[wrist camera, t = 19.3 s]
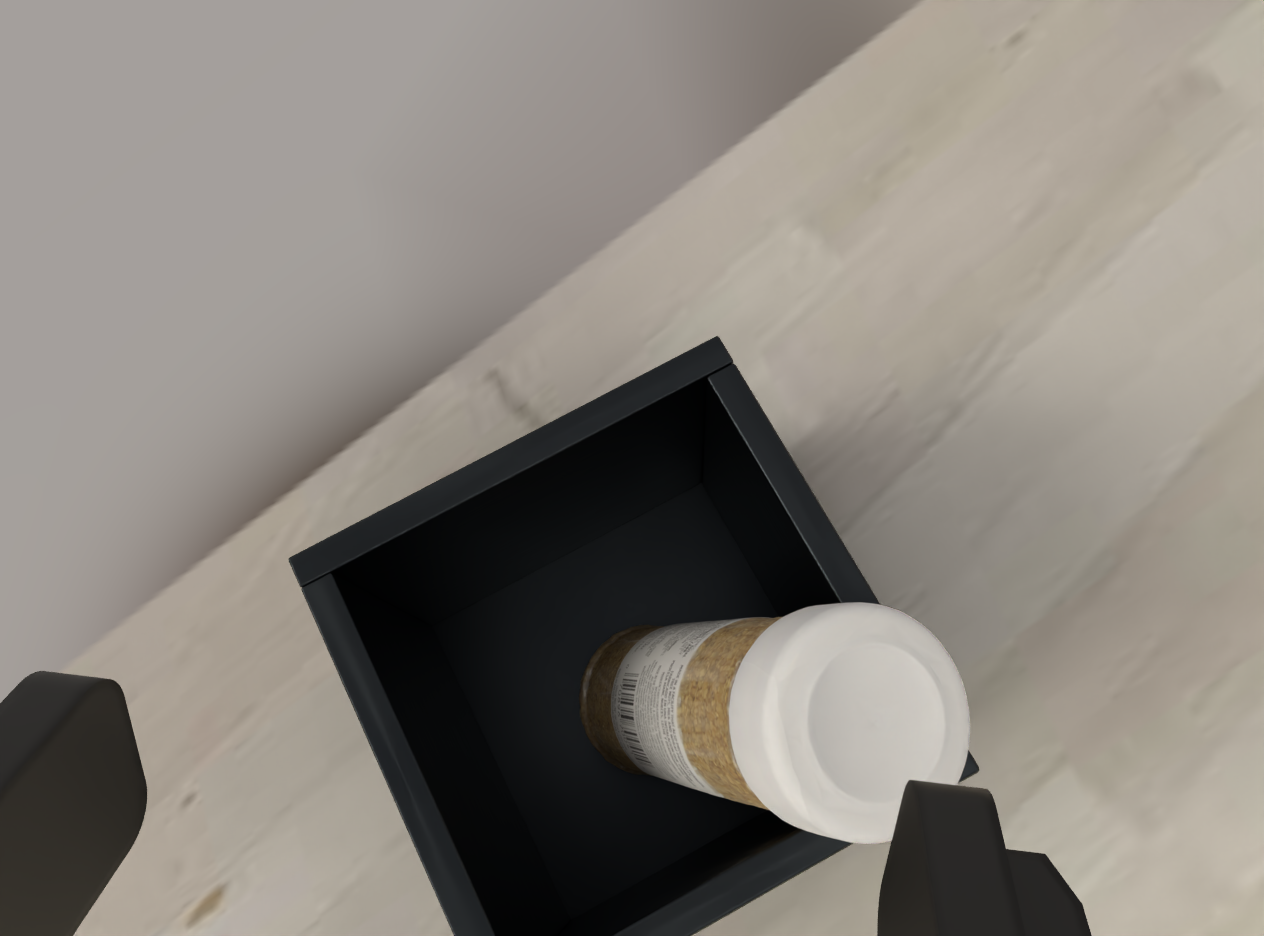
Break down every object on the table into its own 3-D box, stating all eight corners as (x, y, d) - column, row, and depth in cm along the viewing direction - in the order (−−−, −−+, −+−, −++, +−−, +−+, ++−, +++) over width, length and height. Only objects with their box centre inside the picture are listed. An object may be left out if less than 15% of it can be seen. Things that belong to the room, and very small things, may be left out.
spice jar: (705, 780, 33) (975, 857, 20) (564, 766, 31) (758, 840, 19) (719, 631, 34) (985, 616, 21) (583, 612, 32) (779, 585, 20)
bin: (403, 618, 35) (286, 558, 25) (710, 456, 36) (718, 334, 26) (561, 956, 32) (501, 1044, 22) (892, 769, 33) (982, 770, 23)
